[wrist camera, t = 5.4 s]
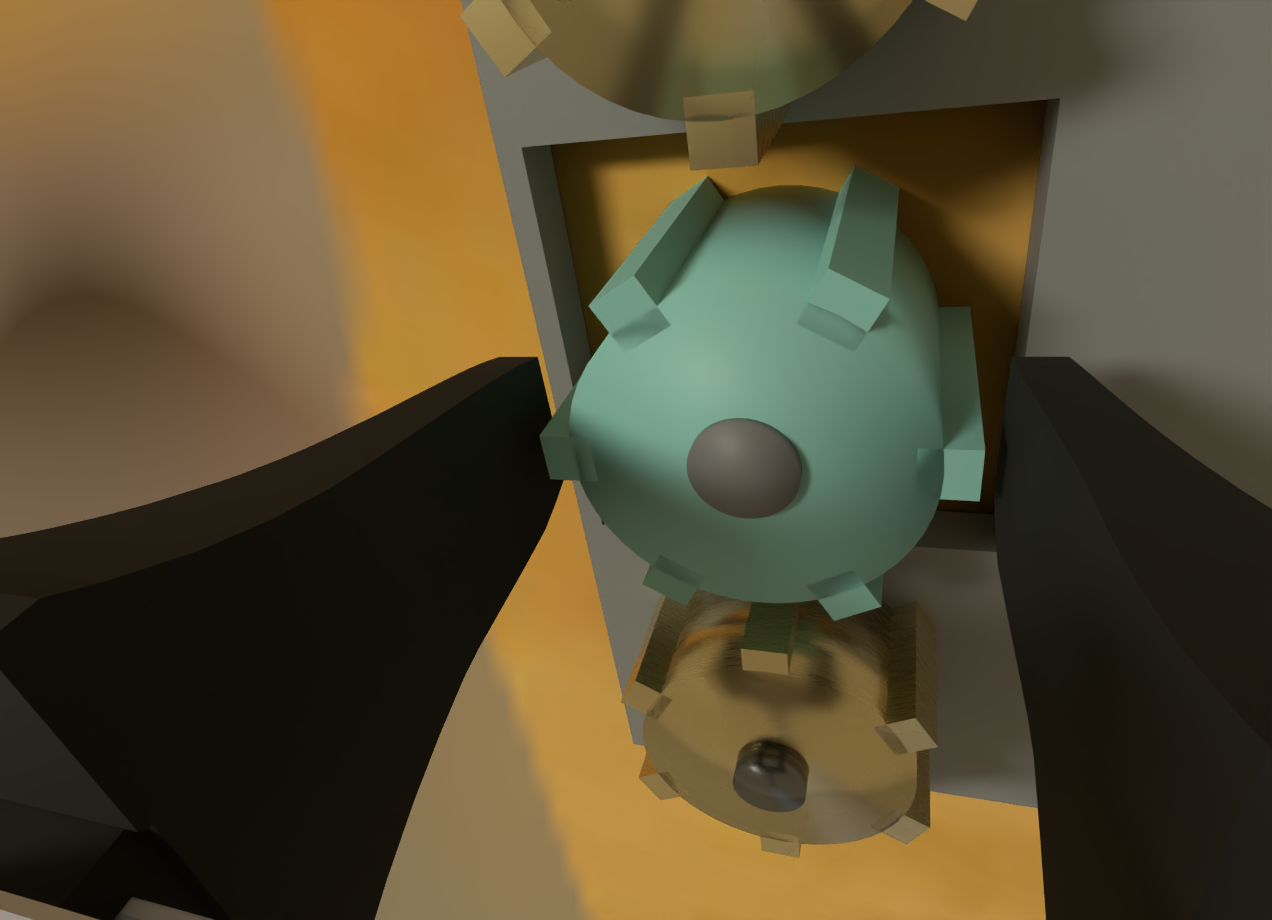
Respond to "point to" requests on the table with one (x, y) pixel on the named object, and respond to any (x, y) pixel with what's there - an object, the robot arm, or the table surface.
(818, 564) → the teal gear
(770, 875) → the table surface
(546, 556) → the table surface
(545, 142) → the gear board
